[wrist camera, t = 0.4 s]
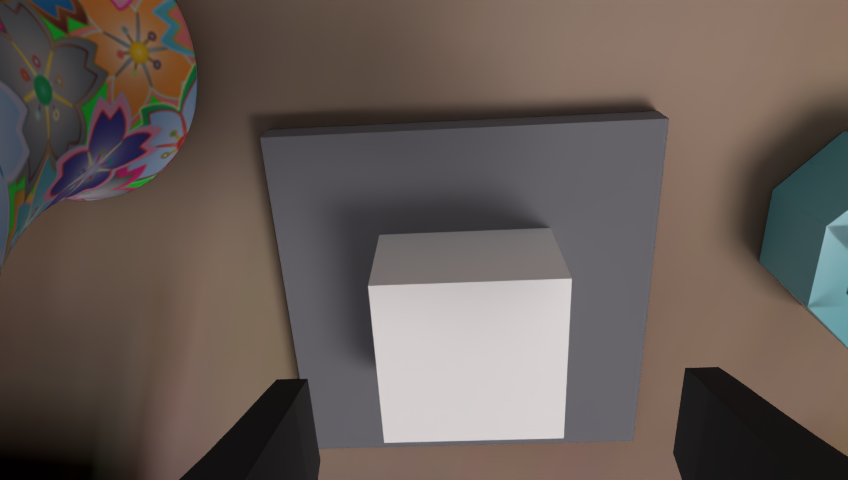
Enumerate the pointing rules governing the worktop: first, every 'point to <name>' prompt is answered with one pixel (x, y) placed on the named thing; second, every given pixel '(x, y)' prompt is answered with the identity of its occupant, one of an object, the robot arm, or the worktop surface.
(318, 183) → the mat
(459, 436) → the white block
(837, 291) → the bowl
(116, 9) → the mug
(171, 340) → the worktop surface
